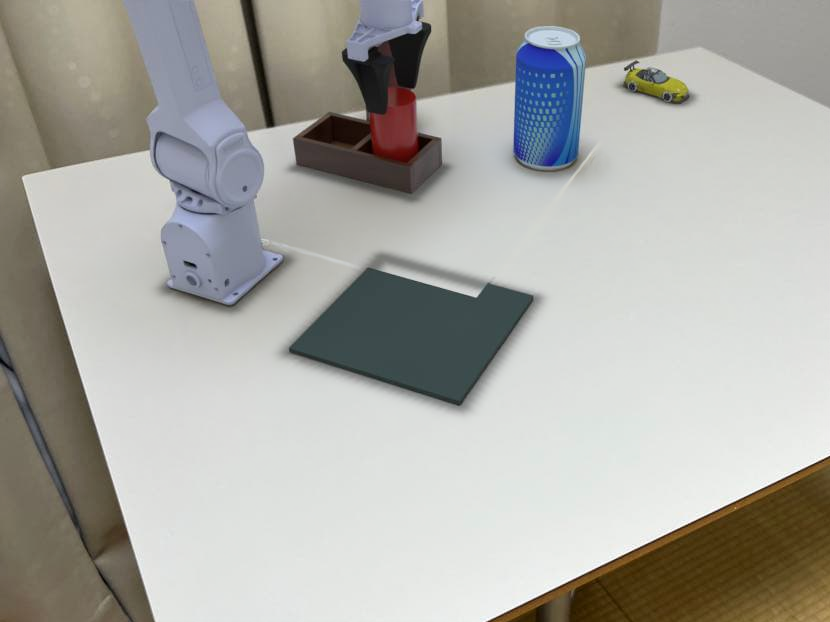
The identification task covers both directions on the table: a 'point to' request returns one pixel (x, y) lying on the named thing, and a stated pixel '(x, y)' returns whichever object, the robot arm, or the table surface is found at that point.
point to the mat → (413, 332)
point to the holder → (363, 154)
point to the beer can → (548, 98)
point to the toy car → (655, 84)
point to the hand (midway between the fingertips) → (392, 99)
